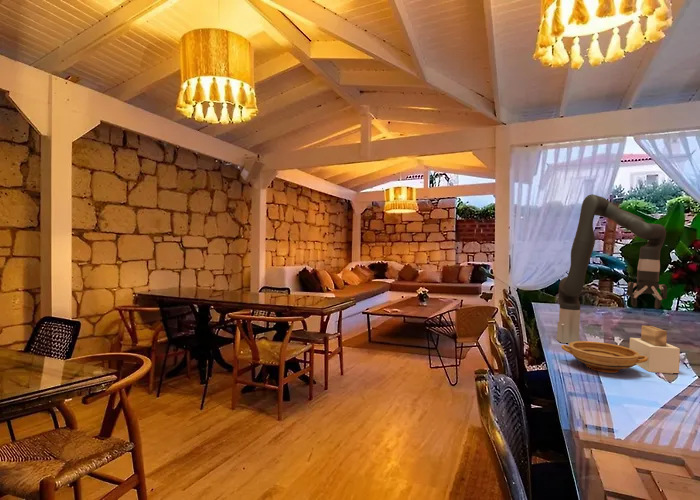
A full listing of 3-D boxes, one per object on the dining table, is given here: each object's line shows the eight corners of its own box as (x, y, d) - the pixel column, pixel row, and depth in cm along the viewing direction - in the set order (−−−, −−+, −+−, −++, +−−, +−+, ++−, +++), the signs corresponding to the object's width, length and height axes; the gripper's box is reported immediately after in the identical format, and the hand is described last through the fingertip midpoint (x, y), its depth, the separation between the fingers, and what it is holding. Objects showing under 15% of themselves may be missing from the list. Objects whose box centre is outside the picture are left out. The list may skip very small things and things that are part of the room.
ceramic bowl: (643, 366, 162) (644, 347, 162) (652, 384, 142) (653, 362, 141) (562, 354, 178) (562, 337, 177) (559, 369, 157) (559, 349, 156)
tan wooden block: (654, 352, 158) (655, 330, 158) (640, 346, 168) (641, 325, 168) (665, 353, 157) (666, 331, 157) (651, 347, 167) (652, 326, 167)
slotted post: (648, 371, 156) (649, 346, 156) (628, 360, 171) (629, 337, 171) (678, 373, 154) (679, 348, 154) (655, 362, 169) (656, 339, 169)
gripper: (633, 269, 167) (630, 307, 168) (672, 271, 164) (669, 310, 165) (625, 268, 175) (622, 304, 175) (662, 270, 171) (659, 307, 172)
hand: (645, 307), depth 170 cm, fingers open, 8 cm apart
